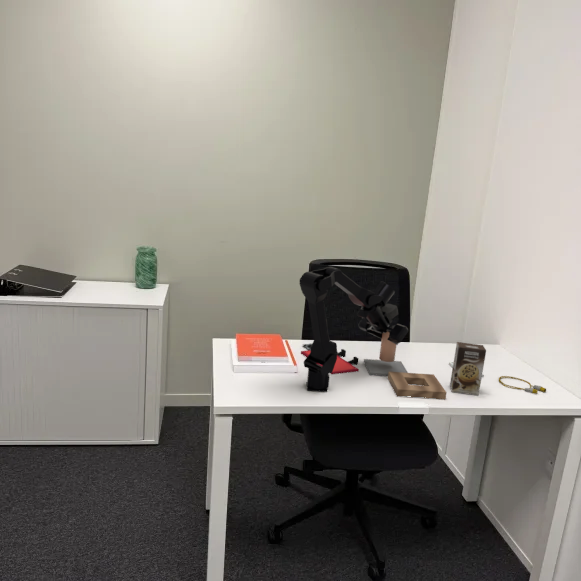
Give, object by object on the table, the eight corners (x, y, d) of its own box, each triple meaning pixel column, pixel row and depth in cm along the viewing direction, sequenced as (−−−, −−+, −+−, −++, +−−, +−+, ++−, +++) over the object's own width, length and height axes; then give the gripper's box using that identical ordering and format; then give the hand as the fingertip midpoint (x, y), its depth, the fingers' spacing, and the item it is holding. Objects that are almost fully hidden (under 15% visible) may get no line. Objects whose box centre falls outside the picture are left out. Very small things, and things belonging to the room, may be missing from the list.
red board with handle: (324, 344, 248) (291, 348, 240) (325, 337, 247) (291, 341, 240) (367, 371, 222) (331, 376, 215) (367, 364, 221) (332, 369, 214)
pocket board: (396, 396, 200) (397, 389, 199) (387, 378, 215) (388, 371, 215) (445, 399, 201) (446, 392, 200) (432, 381, 216) (433, 374, 216)
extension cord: (519, 396, 210) (520, 391, 210) (491, 379, 224) (492, 374, 224) (548, 394, 214) (549, 389, 213) (519, 378, 228) (519, 373, 228)
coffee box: (451, 392, 207) (458, 346, 204) (449, 385, 214) (456, 341, 210) (479, 396, 206) (486, 350, 203) (476, 388, 213) (483, 344, 209)
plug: (386, 362, 220) (390, 330, 217) (376, 357, 224) (379, 326, 221) (397, 360, 223) (401, 329, 220) (387, 356, 227) (391, 324, 224)
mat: (369, 375, 217) (370, 372, 217) (363, 361, 231) (364, 358, 231) (409, 377, 218) (409, 374, 218) (400, 363, 231) (401, 361, 231)
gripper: (408, 304, 209) (424, 331, 218) (367, 291, 222) (383, 317, 232) (390, 329, 205) (407, 355, 215) (350, 315, 219) (367, 340, 229)
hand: (391, 341), depth 223 cm, fingers closed on plug, 5 cm apart
